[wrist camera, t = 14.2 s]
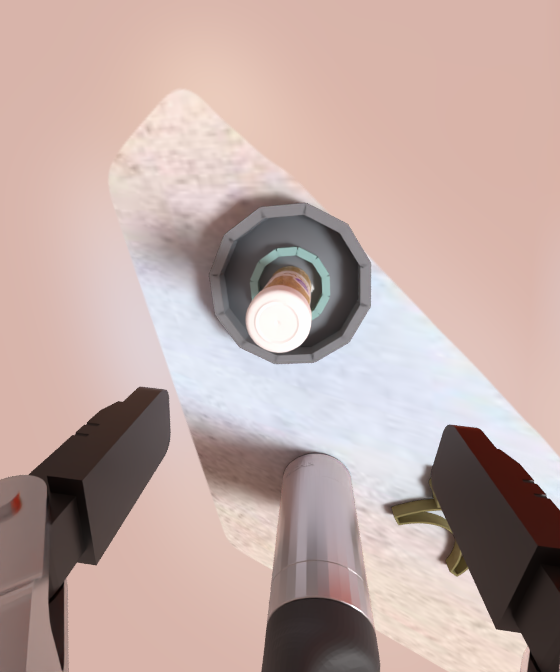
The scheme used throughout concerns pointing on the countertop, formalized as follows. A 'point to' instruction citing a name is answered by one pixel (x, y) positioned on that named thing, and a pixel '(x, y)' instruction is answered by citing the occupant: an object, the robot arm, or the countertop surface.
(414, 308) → the countertop surface
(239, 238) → the grey ring dish
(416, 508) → the cookie cutter
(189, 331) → the countertop surface
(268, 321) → the sprinkles bottle
